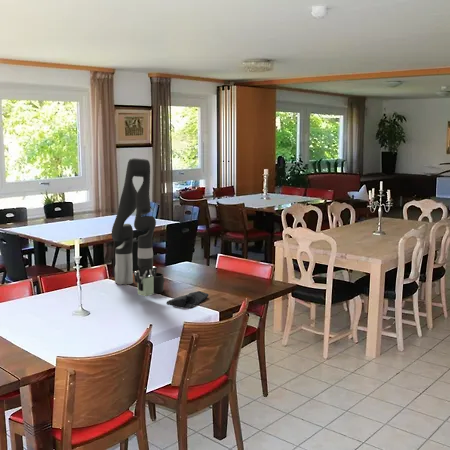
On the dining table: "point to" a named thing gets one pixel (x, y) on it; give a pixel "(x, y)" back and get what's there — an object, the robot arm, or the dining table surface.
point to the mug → (158, 283)
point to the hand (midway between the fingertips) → (145, 289)
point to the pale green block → (147, 286)
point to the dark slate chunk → (188, 300)
